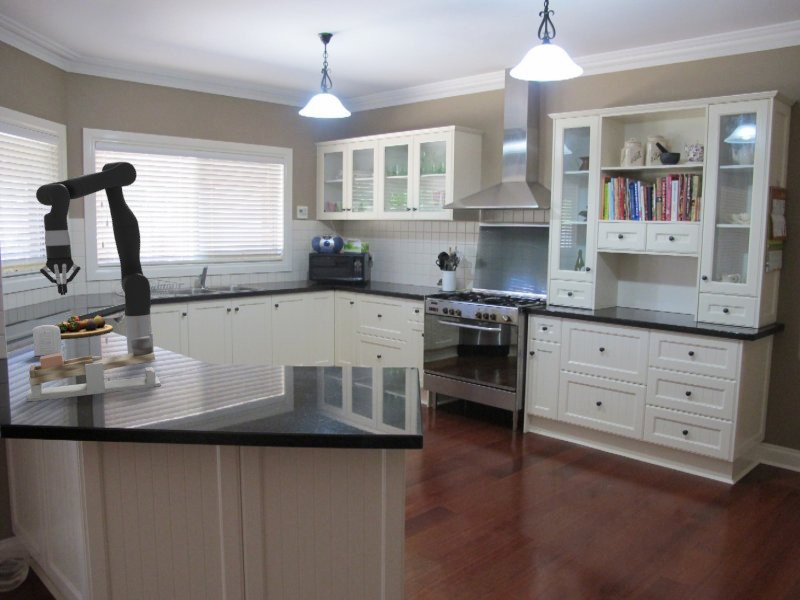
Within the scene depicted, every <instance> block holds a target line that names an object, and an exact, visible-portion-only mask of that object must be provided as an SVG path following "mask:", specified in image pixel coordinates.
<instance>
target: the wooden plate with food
mask: <svg viewBox="0 0 800 600" xmlns="http://www.w3.org/2000/svg"><path fill="white" fill-rule="evenodd" d="M54 326H58V327H59V328H60V334H61V339H76V338H77V339H78V337H80V338H88V337H87V336H89V337H95V336H94V335H96V336H100V335H105V333H106V334H108V333H111V332H112V331H113V330H114V327H113V325H110V324H106V320H105V319H104V318H103V317H102V316H100V315H96V316H95V317H94V318H93V319H92V318H89V319H80V318H79V316H77V315H72V316H70V318H67V321H61V322H59V323H56V324H55V325H54Z"/></svg>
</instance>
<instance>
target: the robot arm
mask: <svg viewBox="0 0 800 600" xmlns="http://www.w3.org/2000/svg"><path fill="white" fill-rule="evenodd" d="M136 179H137V169H136V168H135V166H134V165H133V164H132V163H130V162H129V161H123V160H121V161H115V162H108V163H105V164H104V165H103V166H102V169H101V171H99V172H93V173H86V174H82V175H79V176H78V175H77V176H75V177H71V178H68V179H66V180H62V181H61V180H60V181H57V182H56V181H55V182H51V183H45V184H43V185H41V186H40V187H38V188H37V190H36V192H35V197H36V200H37V201H38V202H39V204H41V205H43V206H48V207H50V212H48V213H45V215H44V216H43V225H44V245H45V254H46V262H45V265H44V266H43V267H42V268H40V269H39V272H40V273H41V274H42V275H43V276H44V277H45V278H46V279H47V280H48V281H49V282H51V284H56V286H57V292H58V294H60V296H66V294H67V293H68V283H71V282H72V281H73V280H74V279H75V277H76V276H77V275H78V273H79V272H80V271H81V266H78V265H76V264H75V263H74V260H73V259H72V248H71V239H70V238H71V237H70V233H69V225H68V216H69V215H68V214H69V209H70V203H71V200H75V199H80V198H84V197H86V196H89V195H93V194H95V193H97V192H100V191H105V195H106V198H107V202H108V207H109V208H108V209H109V212H110V217H111V224H112V231H113V238H114V242H115V247H116V251H117V254H118V259H119V264H120V273H121V274H120V276H121V277H120V278H121V279H120V280H121V283H120V284H121V289H122V290H123V292H124V302H125V303H124V305H125V306H124V323H125V333H126V348H127V354H130V353H133V350H132V345H131V340H132V339H134V338H138V337H145V336H149V337H150V339H151V344H152V350H153V353H154V354H155V351H154V349H155V348H154V336H153V333H152V332H153V331H152V318H151V316H152V315H151V308H152V307H151V306H152V297H151V284H150V281H149V279H148V277H146V276H145V275H144V273H143V268H142V265H141V264H142V263H141V233H140V226H139V221H138V219H137V217H136V215H135V214H134V212H133V211H132V209H131V208H130V207H129V205H128V204H127V202H126V200H125V196H124V192H123V187H128V186H131V185H132V184H134V183H135V181H136ZM48 269H49V270H50V271H51V273H52V274H54V275H55V278H54V277H53V276H52V275H51V274H49V270H48ZM71 269H72V271H73V272H72V273H71V274H70V276H69V277H68V278H67V274H68V273H69V272H70V271H71ZM60 274H62V275H60ZM61 277H62V280H61Z"/></svg>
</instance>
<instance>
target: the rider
mask: <svg viewBox="0 0 800 600" xmlns="http://www.w3.org/2000/svg"><path fill="white" fill-rule="evenodd" d="M39 357H40V358H39V363H40V365H41V367H42V369H44V368H49V367H54V366H59V365H64V356H63V352H62V353H57V354H51V355H46V356H39Z"/></svg>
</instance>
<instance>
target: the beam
mask: <svg viewBox="0 0 800 600" xmlns="http://www.w3.org/2000/svg"><path fill="white" fill-rule="evenodd" d="M131 345H132V350H133V353H130V354H128V353H126V354H125V353H124V354H121V355H117V356H111V357H106V358H102V359H100V360H95V361H93V357H94V356H93V355H92V354H91V355H86V356H79V357H75V358H70V359H66V360H64V359H63V361H64V365H59V366H54V367H49V368H44V369H42V367H41V364H40V365H36V364H33V365H31V364H30V367H29V370H28V372H29V378H28V381H29V385H30V387H31V385H35V384H40V383H42V384H44V383H49V382H55V381H58V380H64V379H68V378H74V377H79V376H84V375H86V370H85V364H90V363H100V362H103V371H104V372H105V371H108V370H112V369H118V368H124V367H127V366H133V365H136V364H142V363H147V362H151V361H156V356H155V352H154V353H153V350H152V344H151V339H150V337H149V336H145V337H138V338H134V339H132V340H131Z"/></svg>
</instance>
